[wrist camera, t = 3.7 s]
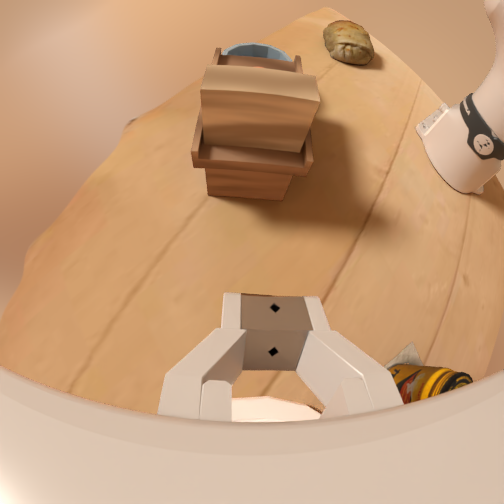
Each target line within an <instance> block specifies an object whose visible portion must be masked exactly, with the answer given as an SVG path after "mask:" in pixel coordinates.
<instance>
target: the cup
mask: <svg viewBox="0 0 504 504" xmlns="http://www.w3.org/2000/svg"><path fill="white" fill-rule="evenodd" d="M222 55H236V56H250V57H260V58H269V59H277V60H284V61H291V62H292V60H291V59H290V57H289V56H288V55H287V54H286V53H285V52H284V51H282V50H280V49H278V48H275V47H273V46H271V45H266V44H260V43H243V44H236V45H234V46H232V47H230V48H228V49H225V50H224V52H223V53H222Z"/></svg>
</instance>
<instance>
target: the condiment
mask: <svg viewBox="0 0 504 504" xmlns="http://www.w3.org/2000/svg"><path fill="white" fill-rule="evenodd" d="M405 363H406V364H405ZM407 363H409V364H407ZM384 368H385V369H387V370H388V371H389V372H390V373H391V375H392V377H393V379H394V382H395V384H396V386H397V389H398V391H399V394H400V396H401V398H402V401H403V403H404V404H408V403H412V402H416V401H419V400H423V399H426V398H430V397H433V396H436V395H439V394H442V393H446V392H448V391H451V390H454V389H457V388H460V387H463V386H465V385H468V384H470V383H473V381H472V378H471V377H470V375H469V374H466V373H464V372H456V371H453V370H451V369H449V368H443V367H431V366H423V364H422V362H421V360H420V357H419V355H418V353H417V351H416V349H415V346H414V344H413V342H411V343H410V344H409V345H408V346H407V347H406V348H405V349H404V350H403V351H402V352H401V353H399V354H398V355H397V356H396V357H395V358H394V359H393V360H392V361H390V362H389V363H388V364H387V365H386V366H384Z"/></svg>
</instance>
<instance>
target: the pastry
mask: <svg viewBox="0 0 504 504" xmlns="http://www.w3.org/2000/svg"><path fill="white" fill-rule="evenodd" d="M323 37H324V40H325V46H326V47H327V49H328V51H329V52H330V56H331V57H332V58H333V59H336V60H339V61H342V62H347V63H352V64H357V65H366V64H367V63H368V62H369V61H370V60H372V59H373V57H374V49H373V45H372V43H371V41H370V37H369V34H368V32H366V31H365V30H364V28H363V27H362V26H359V25H358V24H356V23H353V22H351V21H343V20H340V21H335V22H333V23H330V24H329V25H328V27H327V28H325V29H324V31H323Z"/></svg>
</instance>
